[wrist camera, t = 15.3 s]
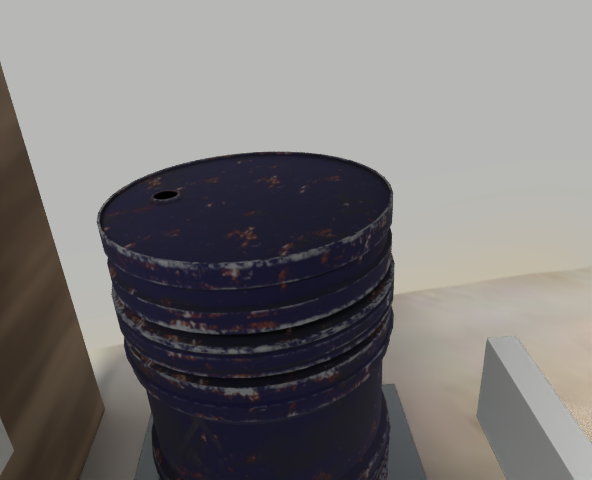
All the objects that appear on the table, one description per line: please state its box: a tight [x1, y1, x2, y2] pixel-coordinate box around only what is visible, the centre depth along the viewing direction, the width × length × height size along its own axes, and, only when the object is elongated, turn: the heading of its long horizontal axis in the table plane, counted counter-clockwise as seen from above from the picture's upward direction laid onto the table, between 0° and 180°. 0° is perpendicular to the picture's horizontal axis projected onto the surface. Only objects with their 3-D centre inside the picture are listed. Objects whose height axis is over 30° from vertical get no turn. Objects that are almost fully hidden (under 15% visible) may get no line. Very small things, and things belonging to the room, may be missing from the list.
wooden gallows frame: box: [0, 63, 105, 480], centre depth 17 cm, size 20×14×30 cm
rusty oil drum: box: [97, 152, 394, 480], centre depth 20 cm, size 10×10×15 cm
